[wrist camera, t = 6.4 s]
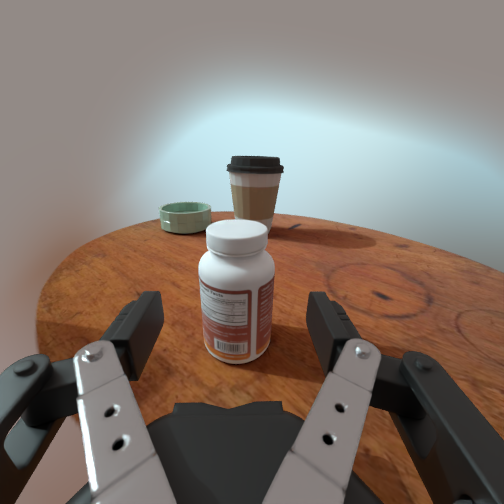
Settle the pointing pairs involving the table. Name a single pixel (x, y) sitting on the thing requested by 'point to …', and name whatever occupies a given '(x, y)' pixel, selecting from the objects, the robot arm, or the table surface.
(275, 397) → the table surface
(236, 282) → the pill bottle
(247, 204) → the coffee cup
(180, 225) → the bowl
